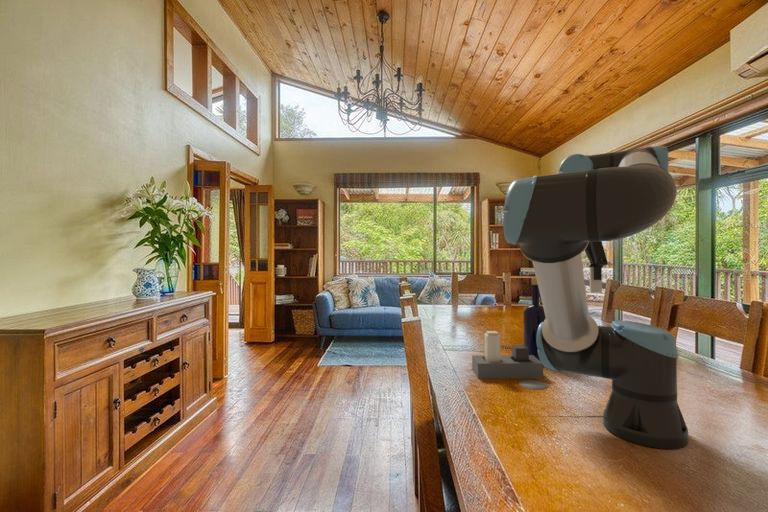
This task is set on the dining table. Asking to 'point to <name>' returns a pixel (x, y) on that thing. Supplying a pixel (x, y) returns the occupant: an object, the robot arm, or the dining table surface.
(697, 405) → the dining table surface
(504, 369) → the strip
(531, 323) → the bottle
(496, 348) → the plug
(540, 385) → the coaster
